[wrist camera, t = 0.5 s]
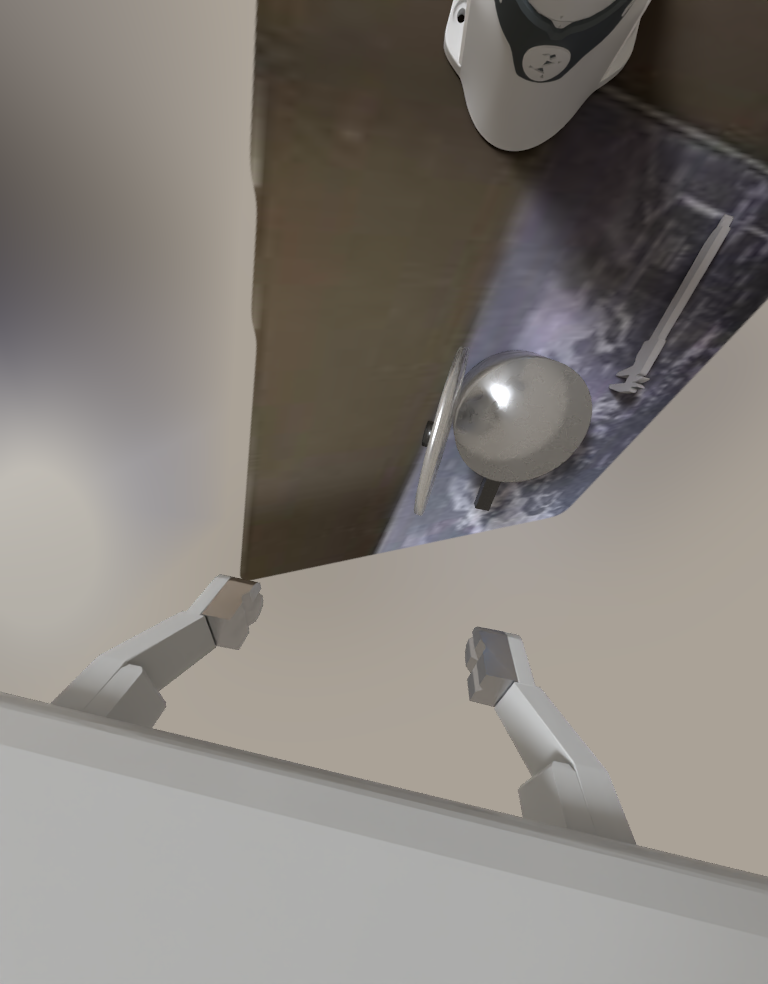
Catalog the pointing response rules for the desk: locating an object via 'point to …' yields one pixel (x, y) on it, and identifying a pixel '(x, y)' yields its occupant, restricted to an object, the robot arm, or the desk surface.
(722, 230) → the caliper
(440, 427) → the lid
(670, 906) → the robot arm
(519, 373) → the cooker pot
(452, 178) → the desk surface
